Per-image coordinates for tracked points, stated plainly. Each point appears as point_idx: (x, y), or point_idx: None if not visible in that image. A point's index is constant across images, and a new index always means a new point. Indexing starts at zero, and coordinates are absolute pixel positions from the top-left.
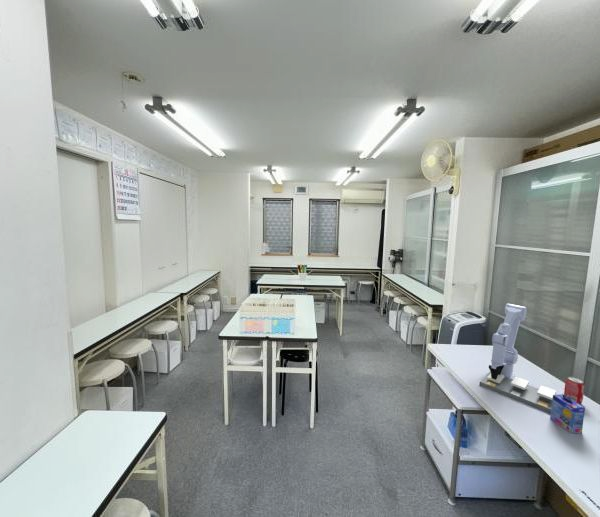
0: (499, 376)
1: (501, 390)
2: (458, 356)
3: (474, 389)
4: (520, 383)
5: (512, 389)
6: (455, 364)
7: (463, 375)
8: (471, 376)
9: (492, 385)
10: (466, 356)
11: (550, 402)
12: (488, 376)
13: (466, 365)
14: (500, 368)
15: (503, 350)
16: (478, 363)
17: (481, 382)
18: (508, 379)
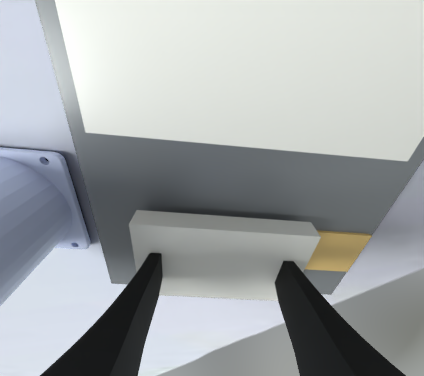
0: (197, 251)
1: (401, 187)
2: None
3: (391, 279)
4: (359, 2)
5: None
6: (165, 353)
7: (256, 324)
8: (238, 306)
9: (355, 245)
10: (22, 347)
11: None
12: (269, 298)
13: None
14: (133, 340)
15: None
16: (35, 312)
17: (334, 287)
18: (117, 174)
